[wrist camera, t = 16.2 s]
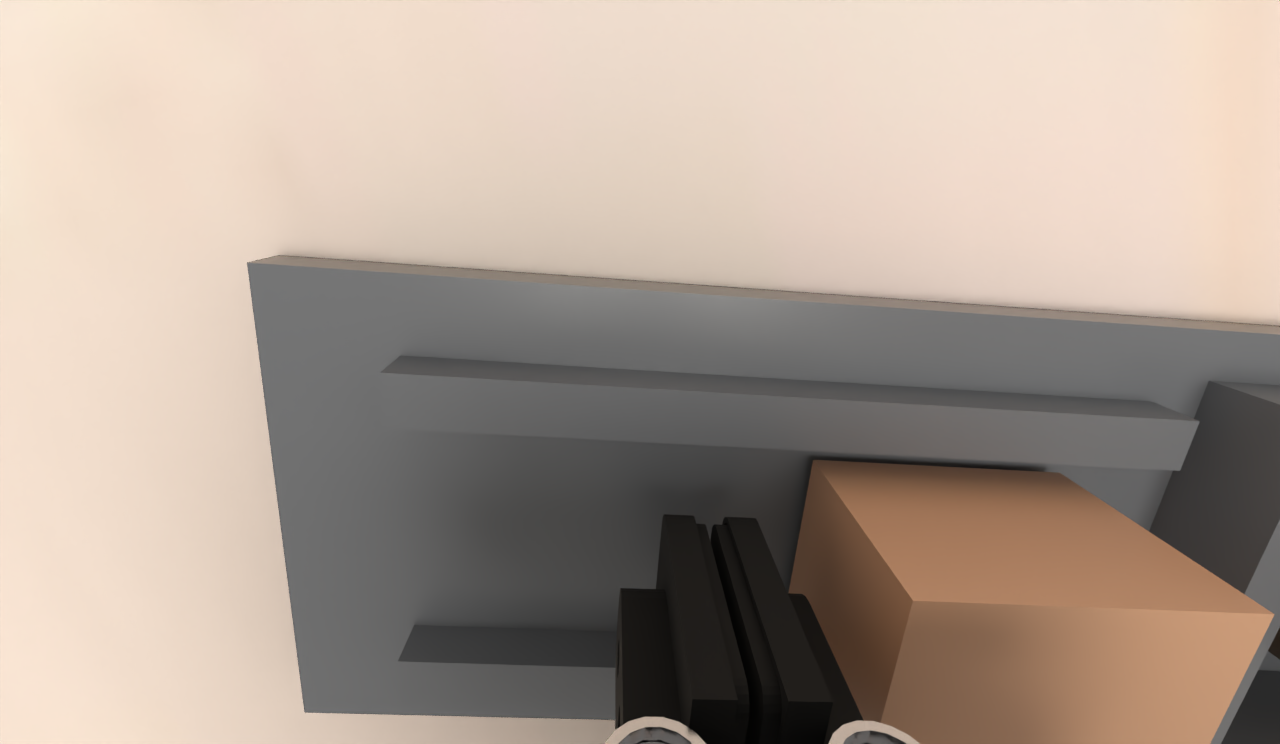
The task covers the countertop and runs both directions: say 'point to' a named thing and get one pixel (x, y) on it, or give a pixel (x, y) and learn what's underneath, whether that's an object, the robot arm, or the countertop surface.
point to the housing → (692, 454)
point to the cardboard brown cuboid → (1015, 609)
